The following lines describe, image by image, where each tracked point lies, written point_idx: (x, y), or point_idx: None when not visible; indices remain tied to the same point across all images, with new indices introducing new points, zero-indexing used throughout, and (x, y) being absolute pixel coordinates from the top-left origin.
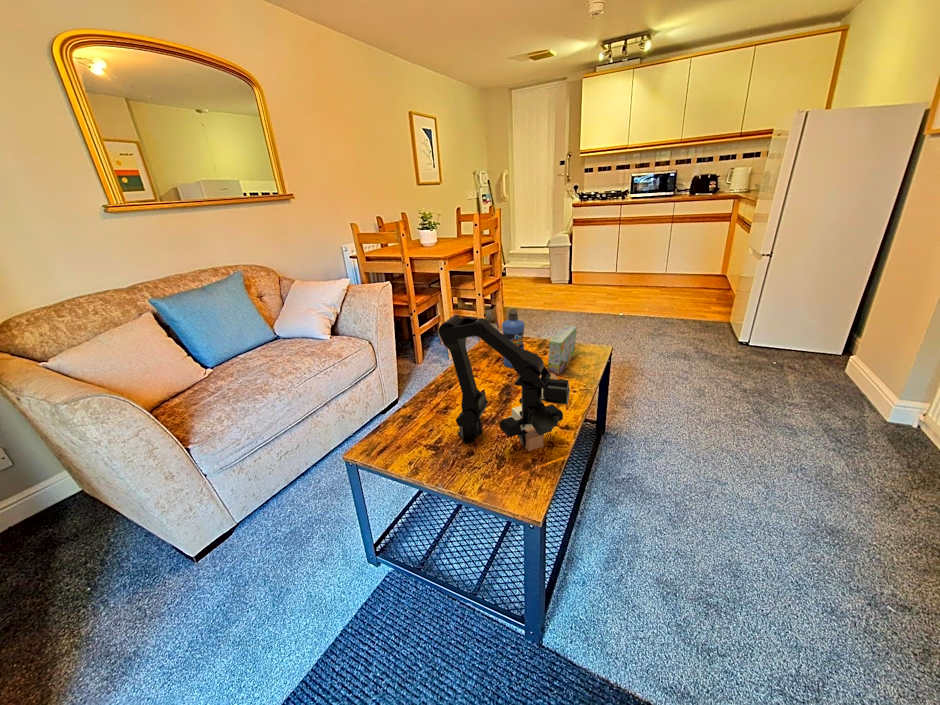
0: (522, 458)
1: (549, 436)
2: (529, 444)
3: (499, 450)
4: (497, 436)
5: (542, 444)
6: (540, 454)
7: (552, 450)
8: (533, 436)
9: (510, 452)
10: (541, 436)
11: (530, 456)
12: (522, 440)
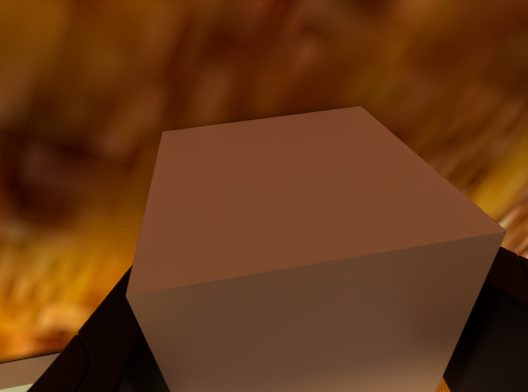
0: (462, 58)
1: (23, 283)
2: (419, 167)
3: (519, 228)
4: None
5: (169, 159)
6: (240, 42)
7: (43, 57)
8: (363, 286)
9: (478, 183)
10: (183, 261)
11: (368, 55)
12: (511, 252)
